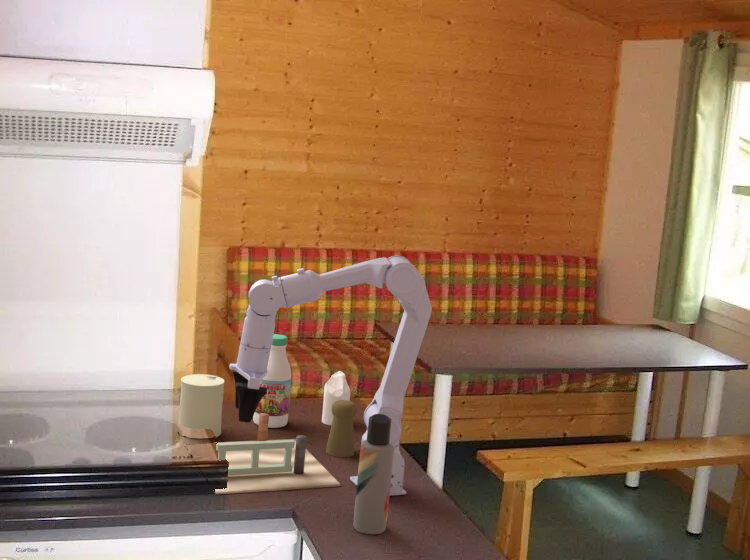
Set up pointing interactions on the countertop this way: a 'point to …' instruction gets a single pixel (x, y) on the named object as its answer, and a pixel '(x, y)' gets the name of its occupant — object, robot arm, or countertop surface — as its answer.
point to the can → (201, 402)
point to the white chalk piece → (334, 395)
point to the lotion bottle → (374, 477)
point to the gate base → (301, 477)
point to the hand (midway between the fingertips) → (242, 414)
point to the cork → (342, 429)
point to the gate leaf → (255, 456)
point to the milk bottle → (276, 385)
